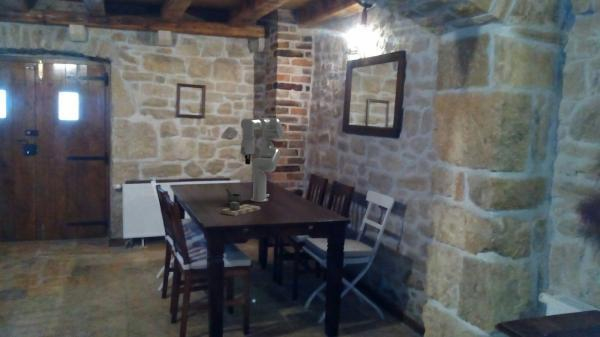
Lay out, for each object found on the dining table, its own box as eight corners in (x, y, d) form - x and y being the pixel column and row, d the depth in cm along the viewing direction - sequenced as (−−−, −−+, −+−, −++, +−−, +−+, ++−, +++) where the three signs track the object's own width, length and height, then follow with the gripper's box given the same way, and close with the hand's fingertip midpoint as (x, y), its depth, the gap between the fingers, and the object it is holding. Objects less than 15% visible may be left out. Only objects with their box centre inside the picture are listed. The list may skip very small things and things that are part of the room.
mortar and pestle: (238, 203, 344) (238, 186, 343) (243, 205, 336) (243, 188, 335) (223, 204, 339) (223, 187, 338) (227, 206, 331) (228, 189, 329)
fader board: (246, 207, 331) (246, 204, 331) (260, 209, 325) (260, 206, 325) (220, 213, 310) (220, 209, 309) (235, 215, 303) (235, 212, 303)
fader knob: (233, 208, 315) (233, 201, 314) (239, 209, 312) (239, 202, 311) (229, 209, 311) (229, 202, 311) (235, 210, 308) (235, 203, 308)
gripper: (250, 136, 338) (250, 163, 340) (236, 137, 325) (236, 164, 327) (259, 137, 334) (258, 164, 336) (245, 138, 321) (245, 165, 323)
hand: (247, 164), depth 331 cm, fingers closed
